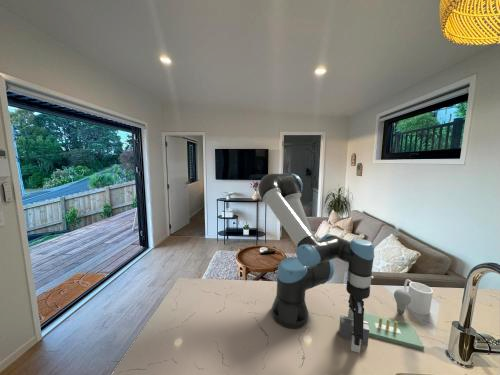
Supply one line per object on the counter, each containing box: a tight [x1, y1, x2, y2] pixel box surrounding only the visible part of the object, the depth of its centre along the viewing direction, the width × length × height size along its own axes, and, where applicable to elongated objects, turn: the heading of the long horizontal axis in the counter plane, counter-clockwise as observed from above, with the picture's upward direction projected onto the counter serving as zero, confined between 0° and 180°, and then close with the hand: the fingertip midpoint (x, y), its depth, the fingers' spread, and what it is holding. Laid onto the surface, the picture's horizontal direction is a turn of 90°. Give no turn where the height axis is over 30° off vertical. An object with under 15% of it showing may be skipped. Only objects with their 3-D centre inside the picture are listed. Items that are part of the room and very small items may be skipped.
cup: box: [403, 278, 434, 316], centre depth 97 cm, size 8×12×10 cm
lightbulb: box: [393, 288, 411, 315], centre depth 91 cm, size 6×6×11 cm
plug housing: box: [338, 314, 370, 347], centre depth 79 cm, size 9×4×6 cm, turn 71°
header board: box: [364, 312, 425, 351], centre depth 83 cm, size 20×11×5 cm, turn 71°
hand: (353, 336), depth 79 cm, fingers open, 12 cm apart
